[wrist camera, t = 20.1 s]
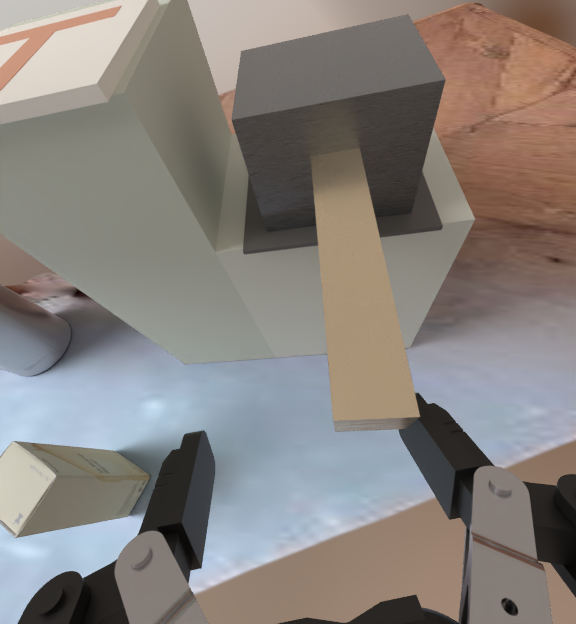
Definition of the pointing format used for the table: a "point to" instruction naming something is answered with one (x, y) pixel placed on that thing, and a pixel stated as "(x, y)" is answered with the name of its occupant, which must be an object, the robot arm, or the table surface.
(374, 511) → the table surface
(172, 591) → the robot arm
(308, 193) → the mallet
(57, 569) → the table surface
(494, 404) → the table surface
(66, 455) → the skincare box
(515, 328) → the table surface
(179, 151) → the stepped stand
